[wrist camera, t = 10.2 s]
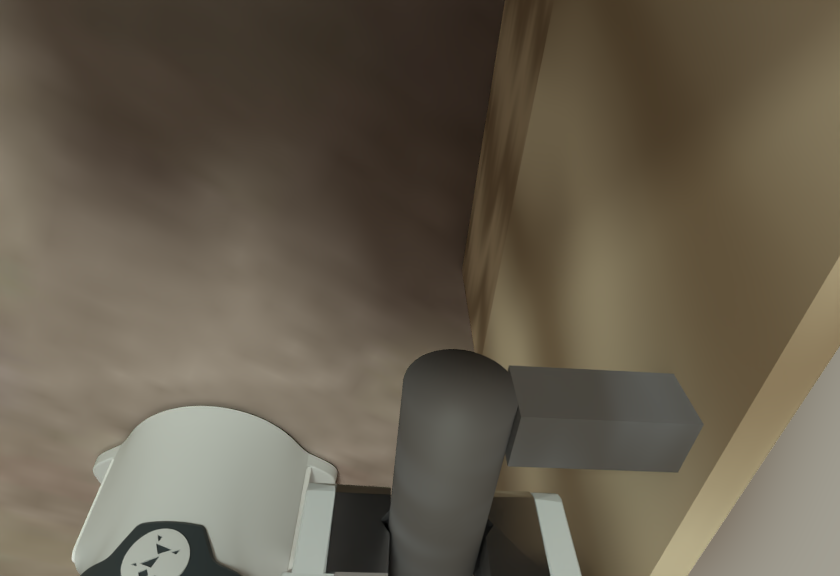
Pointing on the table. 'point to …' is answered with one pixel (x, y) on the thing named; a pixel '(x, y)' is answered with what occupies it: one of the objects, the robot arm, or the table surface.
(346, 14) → the table surface
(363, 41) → the table surface
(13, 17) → the table surface
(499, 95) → the carton
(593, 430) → the carton lid
